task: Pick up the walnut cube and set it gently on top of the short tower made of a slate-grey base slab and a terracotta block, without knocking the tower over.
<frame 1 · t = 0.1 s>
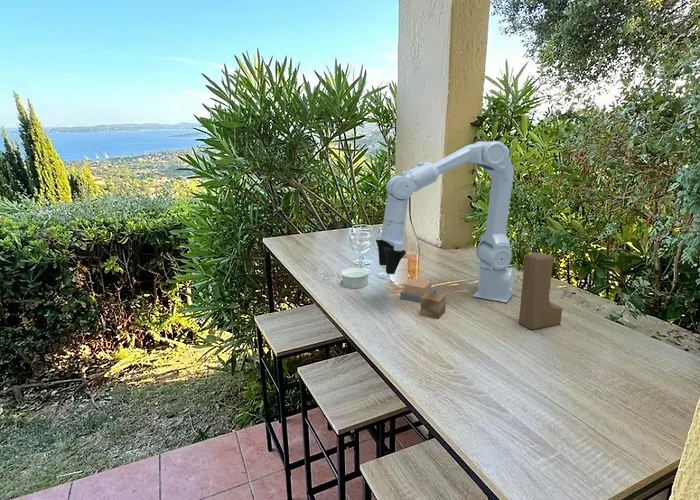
hand: (386, 269, 110), 10 cm above the table, tool pointing down, fingers open, 7 cm apart
walnut cube: (432, 313, 106), on the table
ramekin: (355, 285, 129), on the table
tower base: (418, 298, 117), on the table, touching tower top
wooden block: (539, 324, 98), on the table
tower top: (418, 290, 117), point 2 cm above the table, touching tower base
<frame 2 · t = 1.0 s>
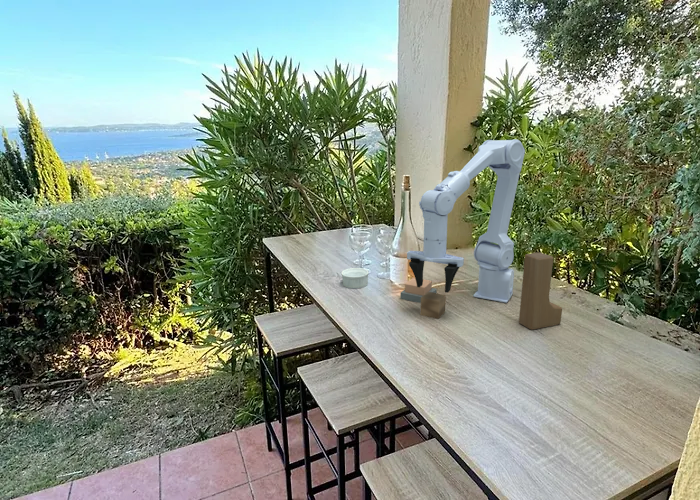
hand: (433, 288, 104), 7 cm above the table, tool pointing down, fingers open, 7 cm apart
nothing on the table moved.
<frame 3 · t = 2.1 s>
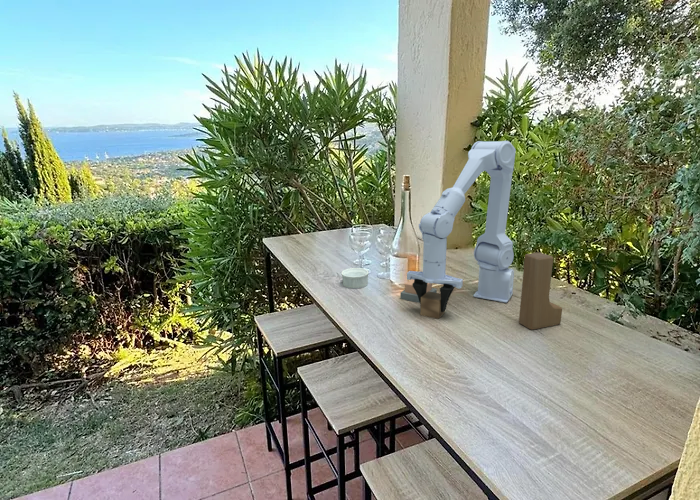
hand: (433, 308, 105), 1 cm above the table, tool pointing down, fingers closed on walnut cube, 5 cm apart
walnut cube: (432, 313, 106), on the table, touching gripper
everything else where it was.
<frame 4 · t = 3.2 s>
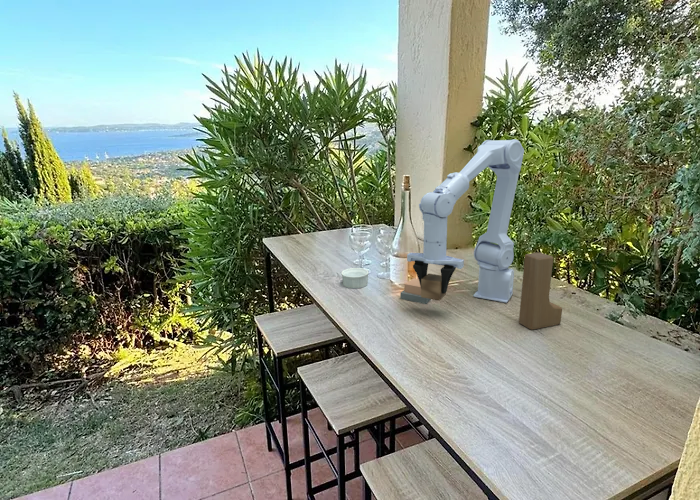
hand: (433, 290, 104), 7 cm above the table, tool pointing down, fingers closed on walnut cube, 5 cm apart
walnut cube: (433, 295, 104), point 5 cm above the table, touching gripper
everything else where it was.
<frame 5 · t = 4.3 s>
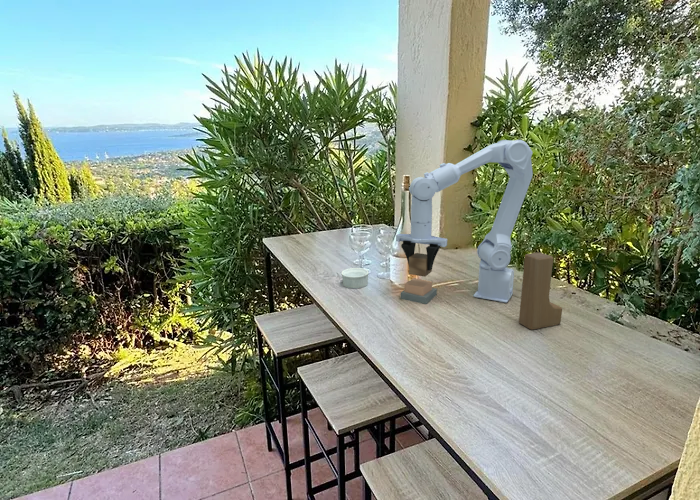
hand: (420, 268, 113), 9 cm above the table, tool pointing down, fingers closed on walnut cube, 5 cm apart
walnut cube: (420, 272, 114), point 8 cm above the table, touching gripper
tower base: (418, 298, 117), on the table
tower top: (418, 290, 117), point 2 cm above the table
everything else where it was.
when the fingers open (7 cm above the table, at t = 5.5 s): walnut cube drops 1 cm, resting on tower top.
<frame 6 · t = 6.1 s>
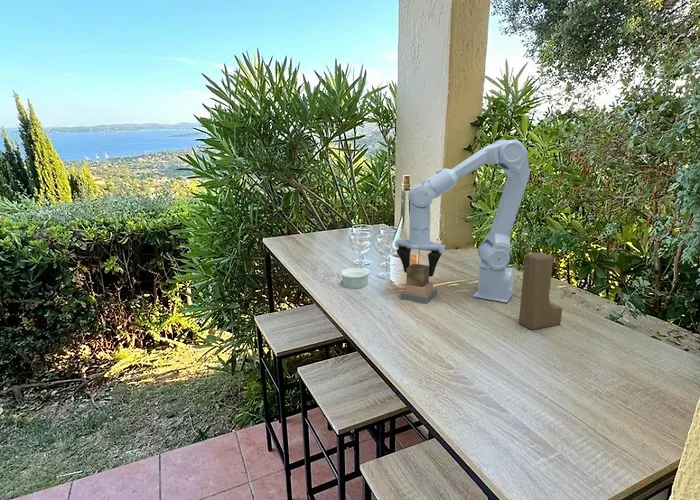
hand: (418, 273, 115), 7 cm above the table, tool pointing down, fingers open, 7 cm apart
walnut cube: (417, 283, 116), point 4 cm above the table, touching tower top
tower base: (418, 298, 117), on the table, touching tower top
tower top: (419, 291, 116), point 2 cm above the table, touching tower base, walnut cube
everything else where it was.
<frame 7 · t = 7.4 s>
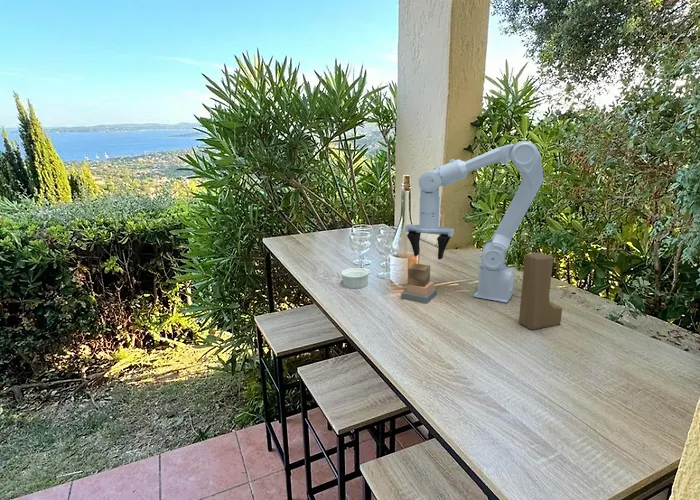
hand: (428, 256, 120), 10 cm above the table, tool pointing down, fingers open, 7 cm apart
nothing on the table moved.
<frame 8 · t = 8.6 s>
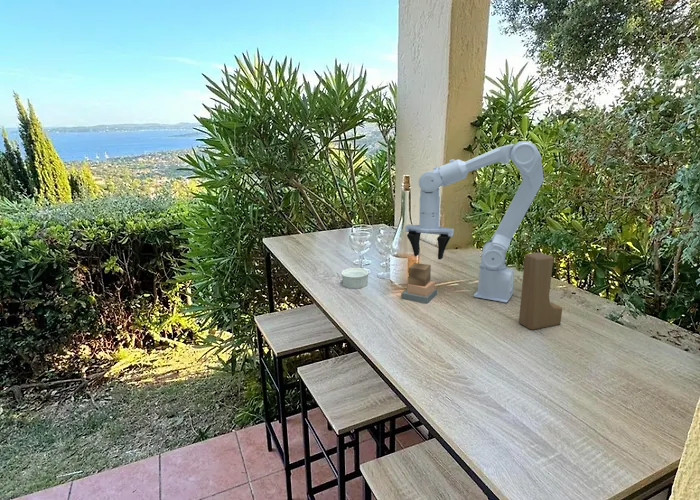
hand: (428, 256, 120), 10 cm above the table, tool pointing down, fingers open, 7 cm apart
nothing on the table moved.
at the end: walnut cube 0.8 cm off-centre on the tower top, point 2.5 cm above the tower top's base; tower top 0.6 cm off-centre on the tower base, point 2.6 cm above the tower base's base; tower base moved 0.7 cm from its start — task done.
